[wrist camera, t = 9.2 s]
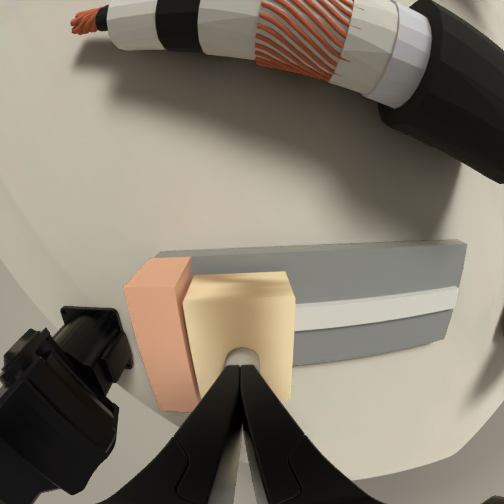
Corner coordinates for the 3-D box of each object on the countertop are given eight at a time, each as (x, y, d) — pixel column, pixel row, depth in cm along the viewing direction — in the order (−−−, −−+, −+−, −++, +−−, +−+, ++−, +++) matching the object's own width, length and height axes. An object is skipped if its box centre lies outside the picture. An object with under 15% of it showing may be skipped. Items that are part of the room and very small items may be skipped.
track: (176, 357, 23) (160, 410, 17) (156, 251, 20) (123, 287, 14) (436, 331, 24) (470, 366, 17) (457, 239, 21) (504, 262, 14)
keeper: (207, 367, 21) (200, 415, 16) (194, 274, 18) (177, 314, 13) (283, 364, 21) (292, 412, 16) (285, 271, 18) (299, 309, 13)
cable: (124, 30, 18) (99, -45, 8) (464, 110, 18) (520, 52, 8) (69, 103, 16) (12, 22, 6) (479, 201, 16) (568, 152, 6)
